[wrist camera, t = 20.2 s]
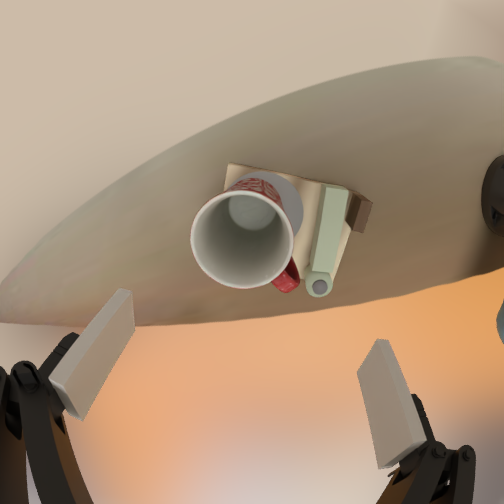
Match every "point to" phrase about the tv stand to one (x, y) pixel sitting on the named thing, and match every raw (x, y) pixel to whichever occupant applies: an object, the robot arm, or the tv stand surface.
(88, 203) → the tv stand surface
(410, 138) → the tv stand surface
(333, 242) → the leg
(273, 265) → the mug
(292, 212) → the seat pad
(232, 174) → the board
